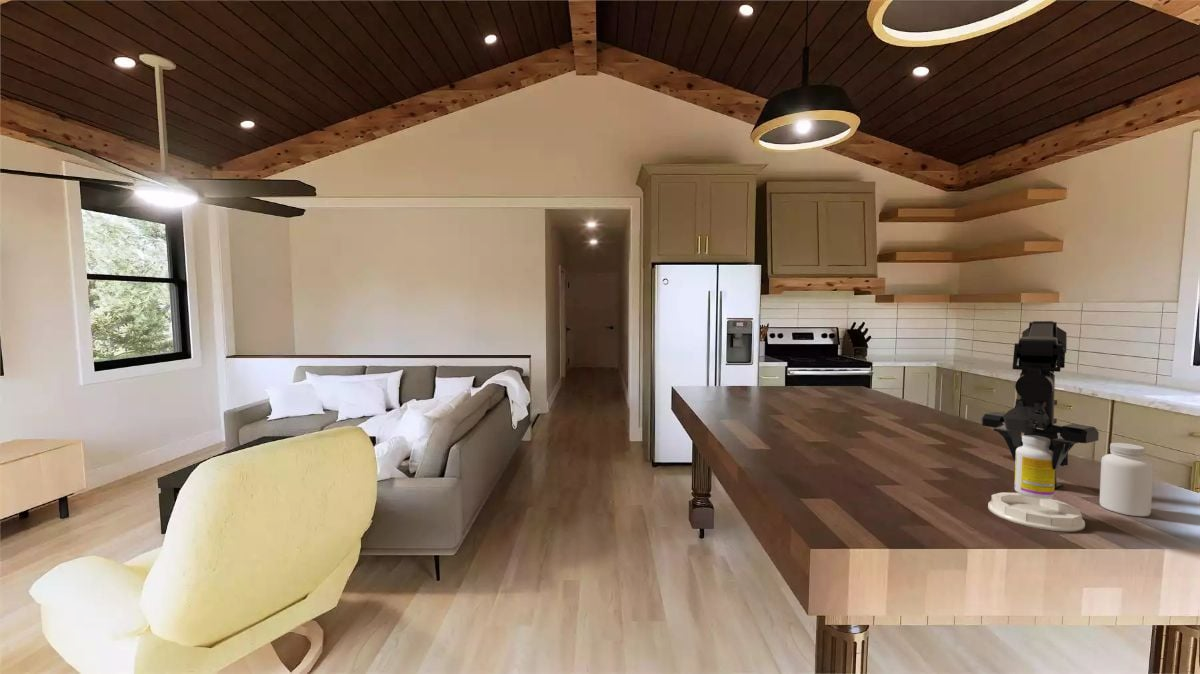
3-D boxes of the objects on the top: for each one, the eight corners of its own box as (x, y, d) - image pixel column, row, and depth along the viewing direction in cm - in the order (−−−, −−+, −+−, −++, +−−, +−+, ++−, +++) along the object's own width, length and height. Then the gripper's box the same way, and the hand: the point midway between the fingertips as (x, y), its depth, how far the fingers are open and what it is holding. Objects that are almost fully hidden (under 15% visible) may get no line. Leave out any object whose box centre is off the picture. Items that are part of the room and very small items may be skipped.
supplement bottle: (1062, 501, 103) (1065, 442, 102) (1026, 499, 104) (1029, 441, 104) (1040, 489, 110) (1042, 434, 109) (1007, 487, 111) (1009, 433, 110)
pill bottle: (1144, 520, 104) (1146, 451, 103) (1093, 507, 111) (1095, 443, 111) (1157, 513, 108) (1159, 447, 107) (1107, 501, 115) (1108, 439, 114)
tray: (1011, 498, 118) (1012, 487, 117) (1100, 523, 103) (1100, 511, 103) (972, 509, 111) (972, 498, 111) (1061, 537, 96) (1061, 524, 96)
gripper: (967, 392, 111) (966, 458, 112) (1072, 405, 94) (1070, 483, 95) (995, 388, 116) (994, 452, 116) (1100, 400, 99) (1098, 475, 99)
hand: (1035, 464), depth 107 cm, fingers closed on supplement bottle, 7 cm apart
